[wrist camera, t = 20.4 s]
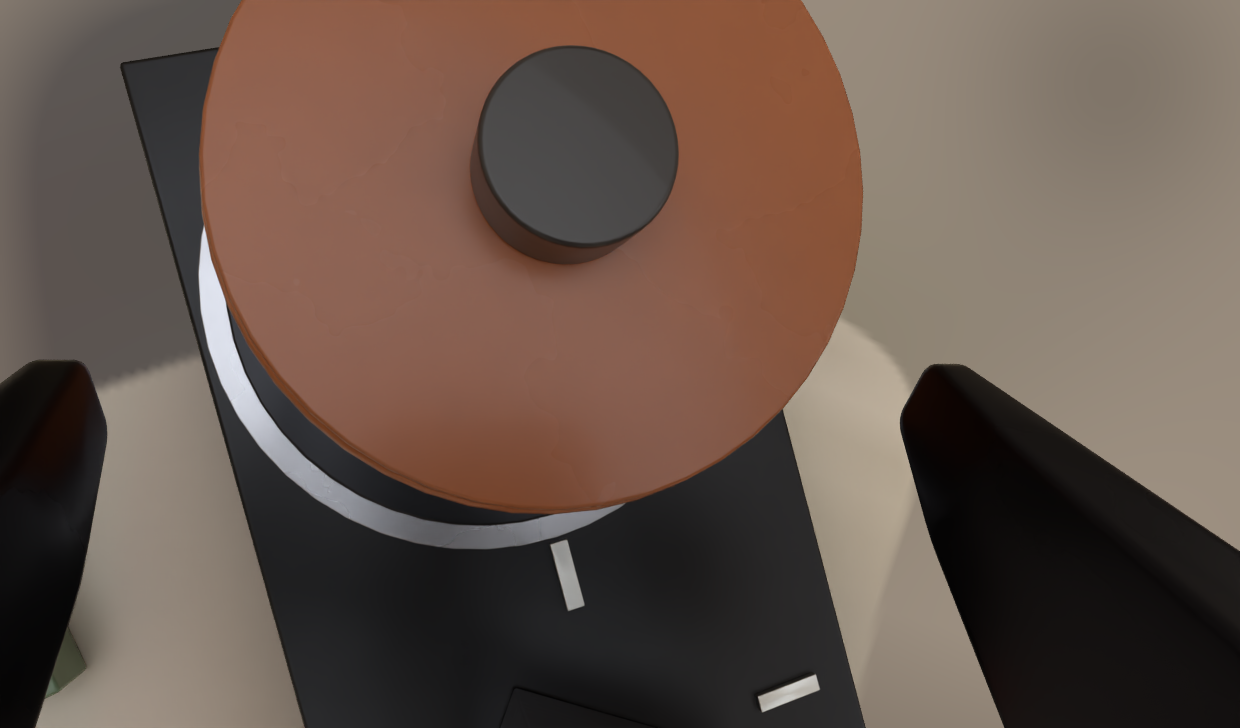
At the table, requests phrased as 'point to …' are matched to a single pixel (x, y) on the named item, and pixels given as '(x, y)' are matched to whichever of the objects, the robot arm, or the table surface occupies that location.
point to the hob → (523, 563)
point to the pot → (532, 231)
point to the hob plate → (338, 471)
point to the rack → (66, 665)
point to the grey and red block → (556, 714)
